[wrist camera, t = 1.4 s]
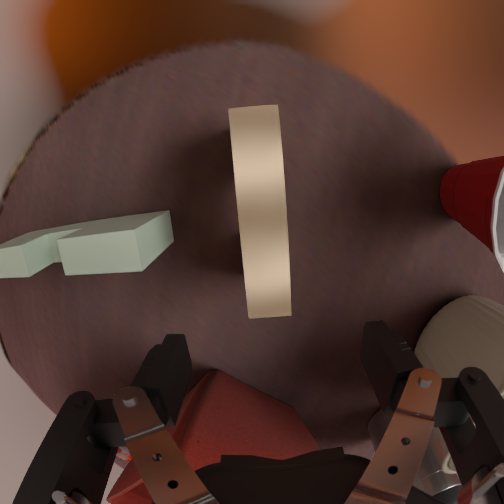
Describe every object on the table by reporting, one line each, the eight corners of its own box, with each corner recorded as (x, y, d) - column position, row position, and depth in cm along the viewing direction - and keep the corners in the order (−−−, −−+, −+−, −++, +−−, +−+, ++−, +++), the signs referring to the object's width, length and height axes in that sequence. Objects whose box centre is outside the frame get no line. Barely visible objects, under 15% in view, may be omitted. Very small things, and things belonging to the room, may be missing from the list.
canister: (372, 328, 29) (455, 487, 9) (485, 243, 25) (611, 320, 5) (408, 404, 33) (456, 513, 13) (497, 337, 30) (570, 417, 10)
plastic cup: (401, 177, 24) (482, 192, 13) (463, 126, 22) (542, 123, 10) (442, 260, 26) (511, 308, 15) (496, 207, 24) (566, 232, 13)
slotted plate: (283, 273, 27) (291, 315, 20) (252, 275, 27) (248, 318, 20) (272, 123, 23) (277, 104, 15) (238, 126, 23) (228, 108, 16)
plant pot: (204, 332, 30) (164, 466, 13) (330, 401, 32) (355, 510, 16) (140, 410, 34) (103, 501, 18) (246, 459, 37) (241, 544, 21)
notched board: (169, 210, 26) (134, 229, 18) (174, 241, 27) (142, 271, 19) (28, 232, 27) (-16, 251, 19) (33, 255, 28) (-8, 278, 20)
